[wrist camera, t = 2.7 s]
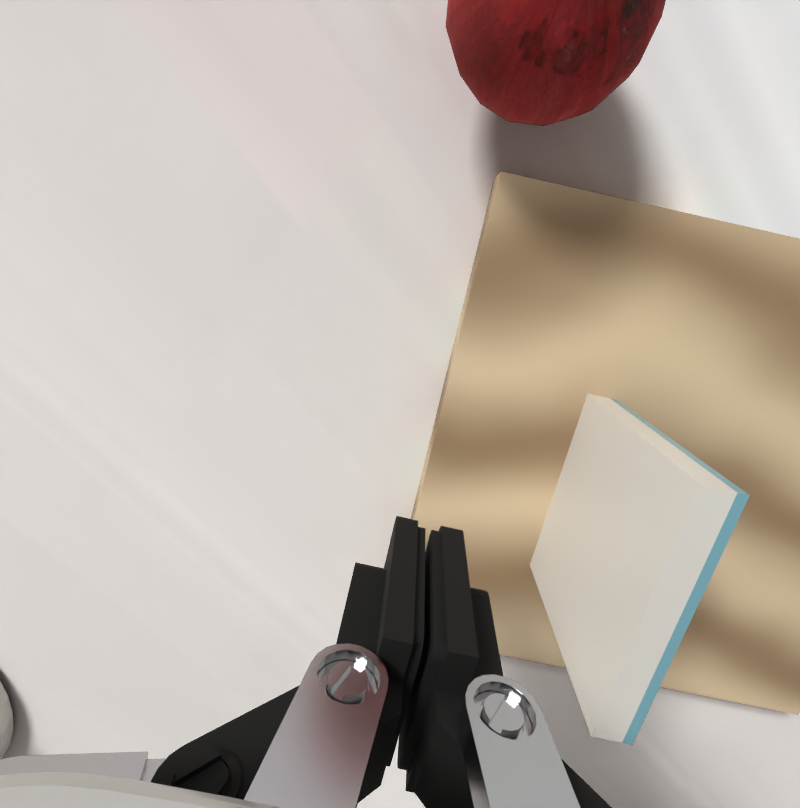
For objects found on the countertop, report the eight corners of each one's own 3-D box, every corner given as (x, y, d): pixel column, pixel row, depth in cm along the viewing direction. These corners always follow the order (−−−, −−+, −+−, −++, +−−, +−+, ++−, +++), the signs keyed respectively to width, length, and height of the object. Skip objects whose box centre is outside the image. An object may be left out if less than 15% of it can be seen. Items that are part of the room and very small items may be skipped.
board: (776, 688, 25) (798, 714, 23) (388, 609, 24) (386, 631, 23) (998, 291, 19) (1046, 294, 17) (494, 178, 18) (501, 171, 17)
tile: (556, 570, 21) (632, 744, 14) (529, 565, 21) (591, 736, 14) (617, 399, 19) (749, 495, 11) (587, 393, 19) (700, 484, 11)
